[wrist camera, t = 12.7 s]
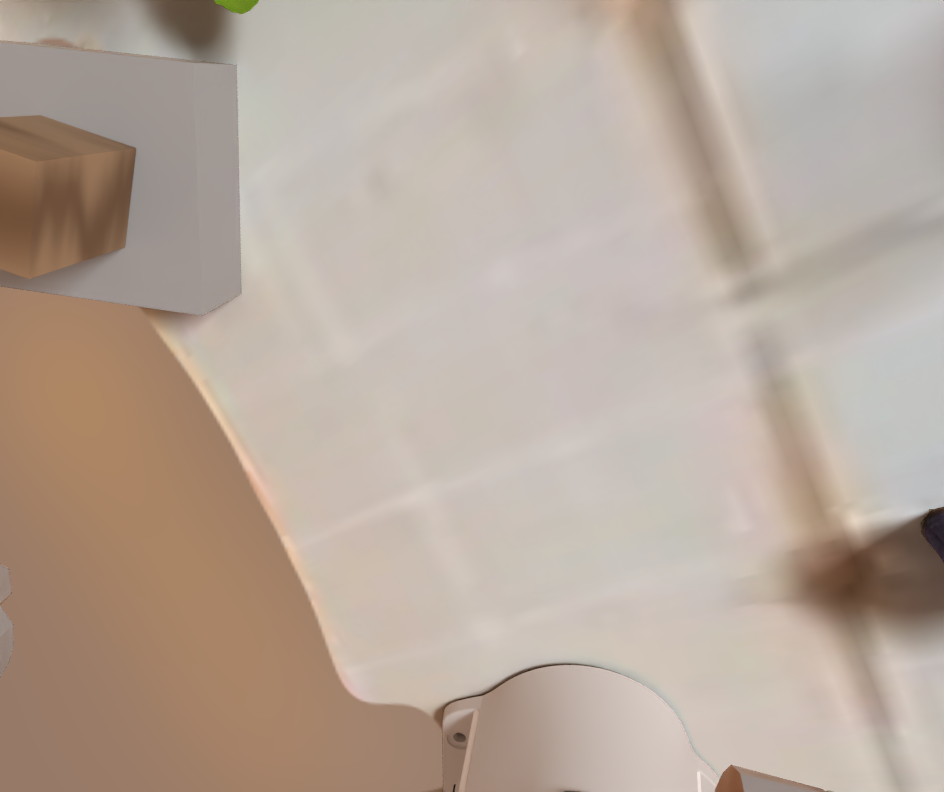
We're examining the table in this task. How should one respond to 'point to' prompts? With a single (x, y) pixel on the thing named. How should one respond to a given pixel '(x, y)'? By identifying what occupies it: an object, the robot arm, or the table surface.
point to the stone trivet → (145, 169)
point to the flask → (934, 530)
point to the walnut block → (60, 194)
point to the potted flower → (237, 5)
